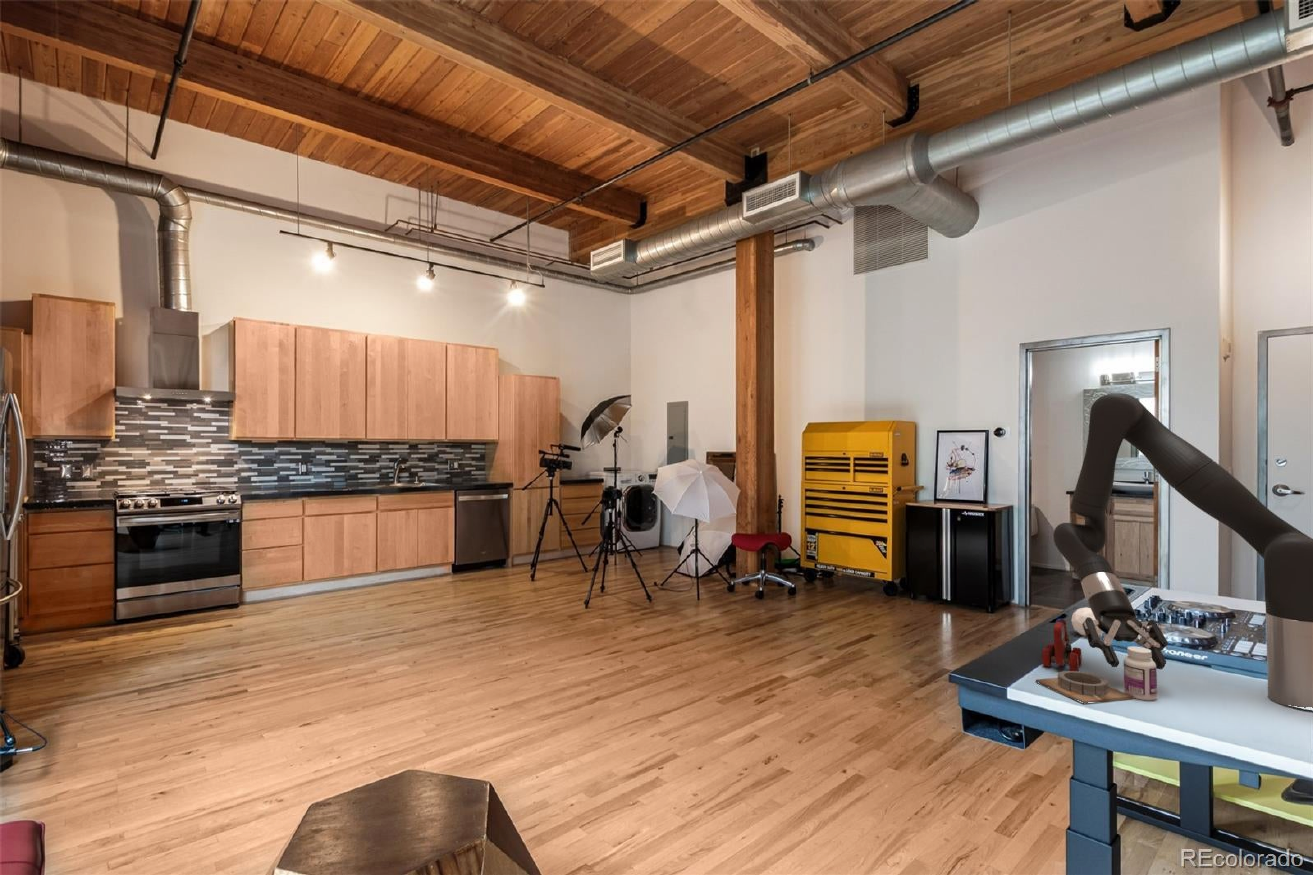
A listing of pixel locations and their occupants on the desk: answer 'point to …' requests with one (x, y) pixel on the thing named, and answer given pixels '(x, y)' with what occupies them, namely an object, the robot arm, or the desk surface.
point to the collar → (1084, 687)
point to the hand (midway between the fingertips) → (1138, 666)
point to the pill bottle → (1140, 674)
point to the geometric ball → (1080, 617)
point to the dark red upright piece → (1061, 649)
